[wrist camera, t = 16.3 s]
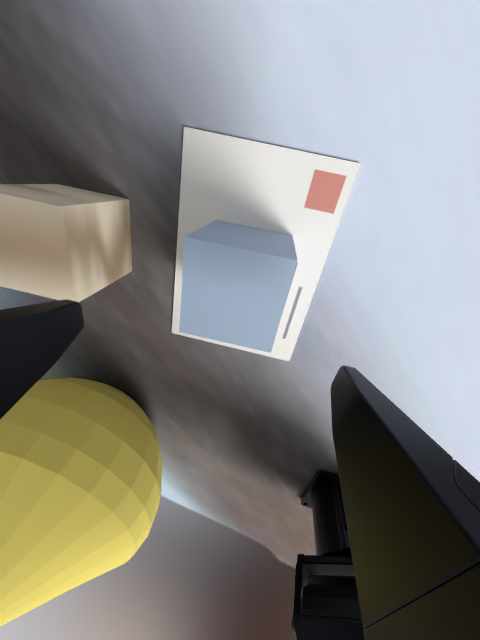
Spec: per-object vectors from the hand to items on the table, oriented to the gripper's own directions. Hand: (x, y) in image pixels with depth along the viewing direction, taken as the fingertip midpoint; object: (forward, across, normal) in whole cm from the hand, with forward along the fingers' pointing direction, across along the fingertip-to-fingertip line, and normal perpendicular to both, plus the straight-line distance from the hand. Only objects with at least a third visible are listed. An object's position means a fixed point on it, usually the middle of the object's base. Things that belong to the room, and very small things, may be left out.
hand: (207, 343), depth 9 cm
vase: (+10, +12, +20) cm, 26 cm away
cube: (+10, 0, 0) cm, 10 cm away
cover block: (+10, +11, 0) cm, 15 cm away
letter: (+10, 0, 0) cm, 10 cm away
